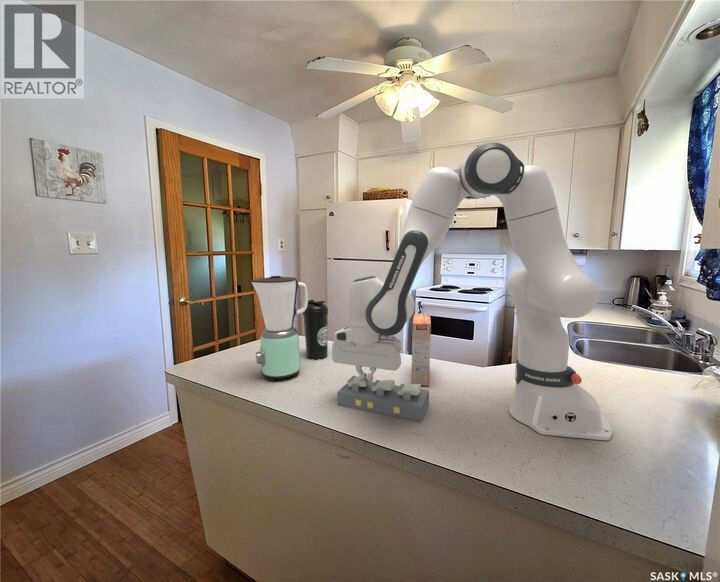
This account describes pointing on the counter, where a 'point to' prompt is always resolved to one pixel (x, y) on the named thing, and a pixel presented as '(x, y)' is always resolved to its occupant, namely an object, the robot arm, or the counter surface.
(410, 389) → the switch
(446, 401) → the counter surface
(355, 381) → the switch
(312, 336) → the water bottle
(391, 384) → the switch
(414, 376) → the cracker box
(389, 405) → the switch unit
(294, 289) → the blender
